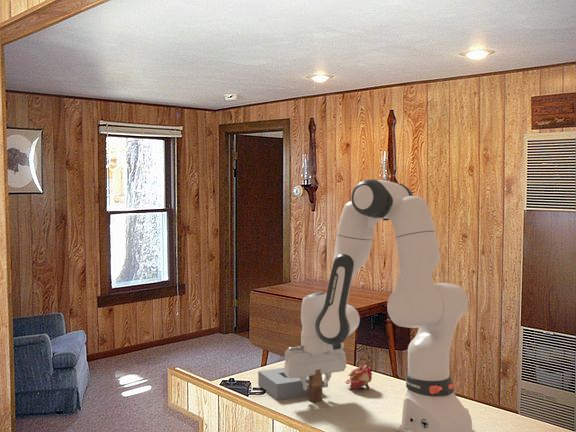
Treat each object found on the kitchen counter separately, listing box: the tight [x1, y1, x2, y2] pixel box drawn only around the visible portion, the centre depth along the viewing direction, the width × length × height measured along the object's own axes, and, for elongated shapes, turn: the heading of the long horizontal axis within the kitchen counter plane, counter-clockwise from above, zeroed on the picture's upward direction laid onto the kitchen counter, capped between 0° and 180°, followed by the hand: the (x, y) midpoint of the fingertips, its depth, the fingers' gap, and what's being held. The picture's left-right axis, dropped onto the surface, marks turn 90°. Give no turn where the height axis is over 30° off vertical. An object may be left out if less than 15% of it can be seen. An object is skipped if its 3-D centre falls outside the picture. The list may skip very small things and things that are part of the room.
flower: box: [345, 364, 373, 390], centre depth 196 cm, size 10×9×8 cm
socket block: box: [257, 367, 309, 401], centre depth 196 cm, size 16×16×5 cm
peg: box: [308, 369, 323, 403], centre depth 185 cm, size 4×4×10 cm
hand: (315, 388), depth 185 cm, fingers open, 5 cm apart
